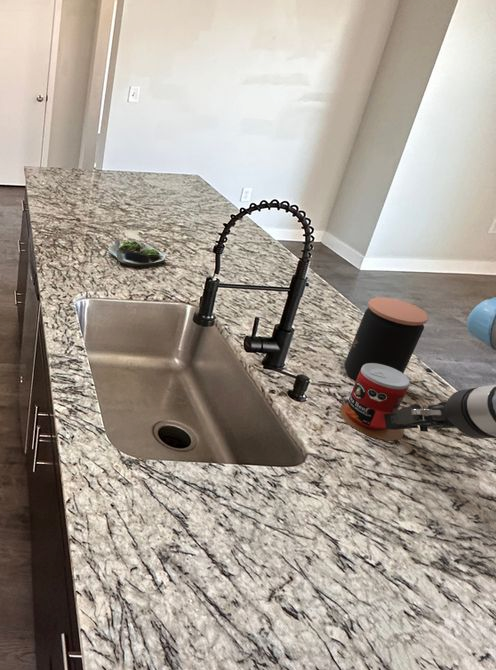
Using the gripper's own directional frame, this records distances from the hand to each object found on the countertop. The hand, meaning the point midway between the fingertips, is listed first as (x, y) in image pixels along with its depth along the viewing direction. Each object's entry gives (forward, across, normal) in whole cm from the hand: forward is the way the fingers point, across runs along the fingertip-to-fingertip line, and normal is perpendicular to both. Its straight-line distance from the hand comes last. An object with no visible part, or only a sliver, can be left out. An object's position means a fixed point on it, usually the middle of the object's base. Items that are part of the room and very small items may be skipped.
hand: (389, 422), depth 104 cm
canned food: (+6, 0, +1) cm, 6 cm away
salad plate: (+58, -37, +53) cm, 87 cm away
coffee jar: (+17, +8, +12) cm, 22 cm away
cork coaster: (+6, 0, +1) cm, 6 cm away
